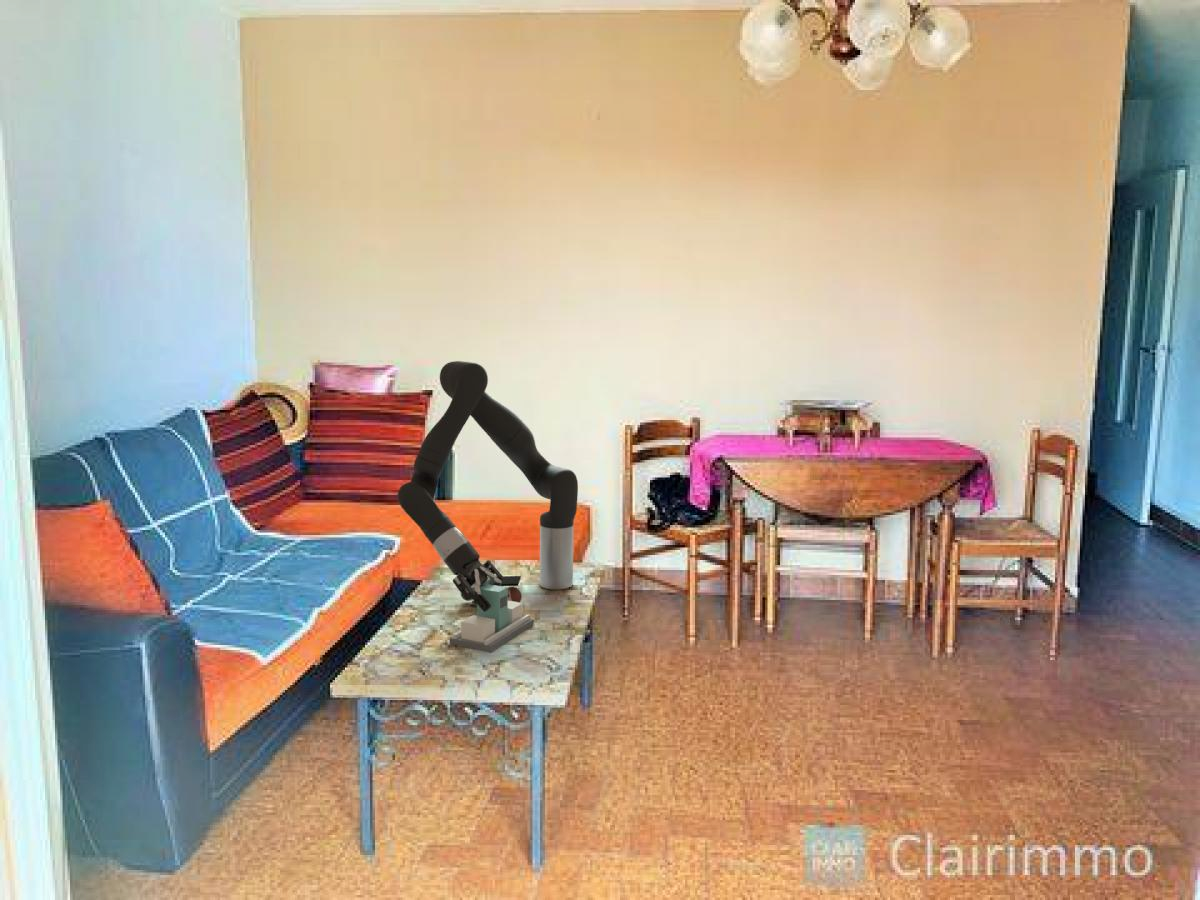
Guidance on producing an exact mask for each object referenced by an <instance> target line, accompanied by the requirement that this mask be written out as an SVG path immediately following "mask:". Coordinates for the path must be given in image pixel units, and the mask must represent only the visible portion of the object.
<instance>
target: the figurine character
mask: <svg viewBox="0 0 1200 900" xmlns="http://www.w3.org/2000/svg"><path fill="white" fill-rule="evenodd" d="M494 576H495V577H496V578H498V577H497V576H496V575H494ZM502 576H503V575H502ZM503 577H504V579H503V580H502V583H501V584H502V586H503V587H508V594H509V595H510V597H509V598H508V601H514V602H519V603H521V601H522V597H523V596H522V592H521V590H520V589H519V584H520V581H521V579H522V578H521V575H504V576H503ZM487 578H488V576H487ZM491 582H492V583H493V581H491ZM480 586H482V585H480ZM465 591H466V593H468V591H467V589H465ZM460 597H461V598H462V599H463V600H465V602H466V601H467V602H469V601H470V602H471V603H472V604H470V605H469V607H477V603H476V602H475V600H472V599H469V600H466V599H465V598H464V597H463V595H462V594H461V593H460Z"/></svg>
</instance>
